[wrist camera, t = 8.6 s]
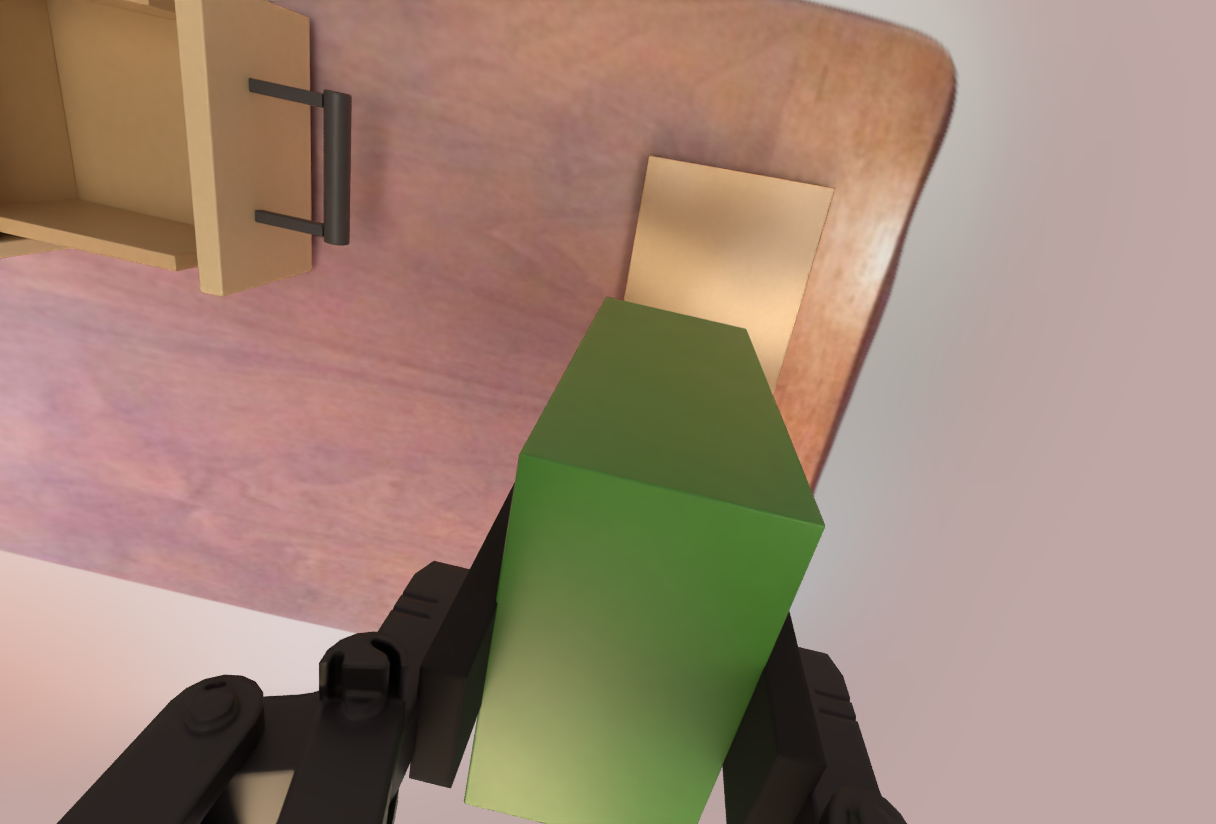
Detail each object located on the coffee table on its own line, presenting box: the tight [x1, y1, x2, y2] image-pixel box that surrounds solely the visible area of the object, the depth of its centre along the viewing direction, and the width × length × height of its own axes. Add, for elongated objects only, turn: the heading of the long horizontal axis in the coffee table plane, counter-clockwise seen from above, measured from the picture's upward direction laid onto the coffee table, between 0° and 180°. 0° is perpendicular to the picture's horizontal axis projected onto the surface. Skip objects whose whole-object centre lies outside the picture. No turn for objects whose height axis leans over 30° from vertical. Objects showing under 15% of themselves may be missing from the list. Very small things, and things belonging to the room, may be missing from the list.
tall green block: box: [464, 297, 825, 824], centre depth 17 cm, size 5×9×12 cm, turn 168°
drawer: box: [0, 0, 352, 297], centre depth 30 cm, size 19×13×8 cm
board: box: [624, 156, 835, 395], centre depth 36 cm, size 20×10×1 cm, turn 171°
